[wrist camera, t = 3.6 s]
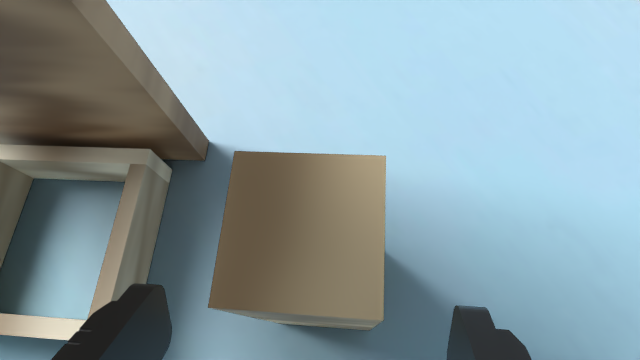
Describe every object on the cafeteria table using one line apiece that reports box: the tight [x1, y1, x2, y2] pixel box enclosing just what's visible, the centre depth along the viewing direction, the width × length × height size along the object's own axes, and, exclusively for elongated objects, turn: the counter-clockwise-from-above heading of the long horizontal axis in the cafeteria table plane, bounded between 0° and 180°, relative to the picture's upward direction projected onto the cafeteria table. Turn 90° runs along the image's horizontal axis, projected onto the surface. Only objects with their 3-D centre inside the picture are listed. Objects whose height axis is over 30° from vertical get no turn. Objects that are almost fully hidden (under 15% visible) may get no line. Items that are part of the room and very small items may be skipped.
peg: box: [208, 151, 386, 331], centre depth 14 cm, size 4×4×10 cm
